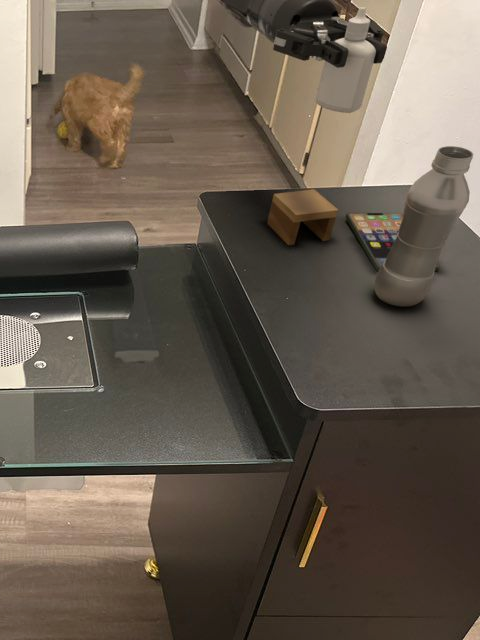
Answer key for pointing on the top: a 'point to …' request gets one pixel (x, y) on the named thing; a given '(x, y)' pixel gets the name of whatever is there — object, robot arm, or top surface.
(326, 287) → the top surface
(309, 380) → the top surface
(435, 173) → the plastic bottle
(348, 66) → the eye dropper bottle
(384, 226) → the smartphone
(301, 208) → the small wooden table
